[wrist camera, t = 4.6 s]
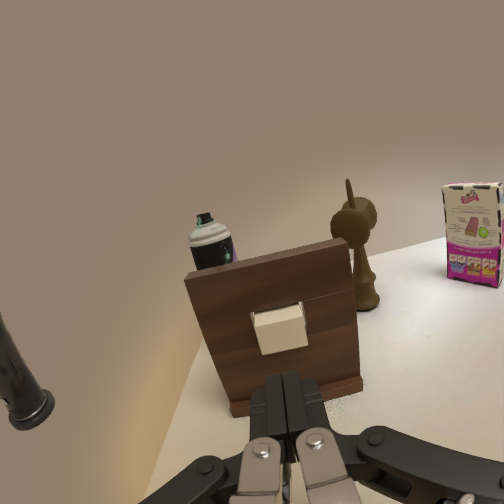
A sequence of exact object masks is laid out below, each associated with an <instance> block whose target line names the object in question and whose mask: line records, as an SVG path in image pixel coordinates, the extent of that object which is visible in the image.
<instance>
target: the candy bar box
mask: <svg viewBox="0 0 504 504" xmlns="http://www.w3.org/2000/svg"><path fill="white" fill-rule="evenodd" d="M442 195H443V203H444V212H445V224H446V241H447V277H448V278H451V279H456V280H462V281H467V282H472V283H477V284H483V285H488V286H493V287H498V286H499V284H500V282H501V280H502V279H503V276H504V193H503V183H486V182H484V183H450V184H447V185H445V186H442Z"/></svg>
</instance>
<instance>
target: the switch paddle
mask: <svg viewBox="0 0 504 504" xmlns="http://www.w3.org/2000/svg"><path fill="white" fill-rule="evenodd" d="M254 328H255V332H256V335H257V339H258V342H259V346H260V349H261V353H262V355H266V354H271V353H276V352H281V351H285V350H290V349H294V348H299V347H303V346H307V345H308V341H307V335H306V330H305V324H304V319H303V315H302V312H301V309H300V306H299V303H298V302H296V303H292V304H288V305H283V306H279V307H274V308H270V309H265V310H261V311H256V312H254Z"/></svg>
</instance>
